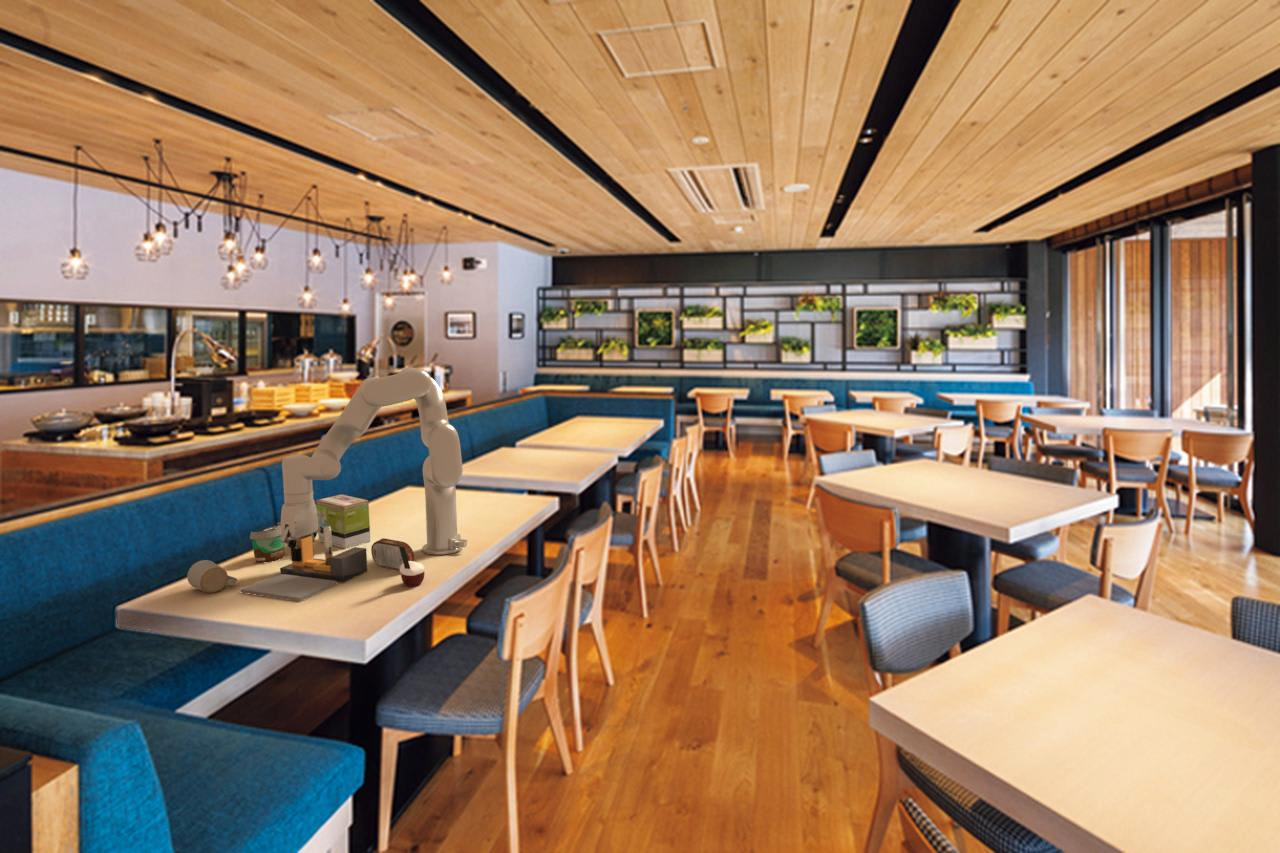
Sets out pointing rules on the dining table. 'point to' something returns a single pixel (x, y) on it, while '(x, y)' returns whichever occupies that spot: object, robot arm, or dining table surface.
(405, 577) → the cocoa
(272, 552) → the food container
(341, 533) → the tea box
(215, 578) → the ceramic mug
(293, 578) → the rubber mat
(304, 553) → the orange block with loop
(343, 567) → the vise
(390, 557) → the tin
